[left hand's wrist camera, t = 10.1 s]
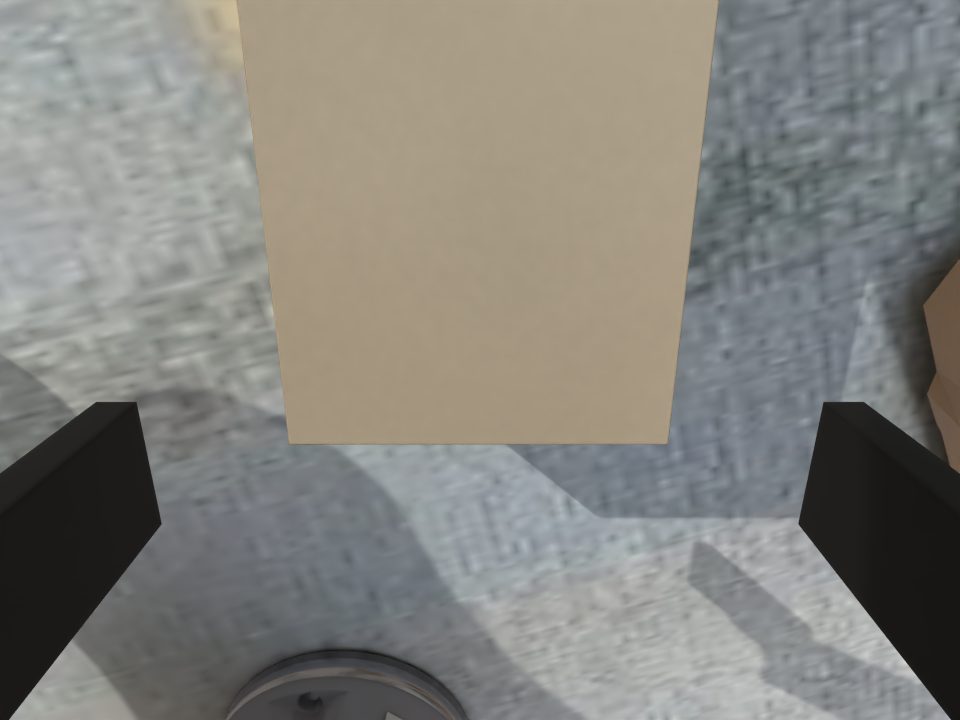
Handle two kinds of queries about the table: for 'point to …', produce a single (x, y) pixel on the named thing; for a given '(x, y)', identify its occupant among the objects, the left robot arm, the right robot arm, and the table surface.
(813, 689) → the table surface
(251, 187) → the table surface
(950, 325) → the squash
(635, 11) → the tan box
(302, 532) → the table surface
